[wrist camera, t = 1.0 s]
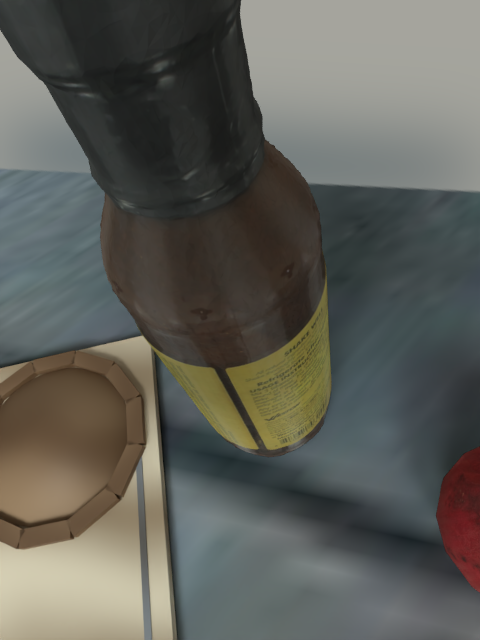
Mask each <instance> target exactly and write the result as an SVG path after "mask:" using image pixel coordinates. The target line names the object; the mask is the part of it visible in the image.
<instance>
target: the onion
mask: <svg viewBox="0 0 480 640" xmlns="http://www.w3.org/2000/svg"><path fill="white" fill-rule="evenodd" d="M436 518H437V521H438V525H439V529H440V532H441V536H442V540H443V543H444V547H445V551H446V552H447V554H448V555H449V556H450V558H451V559H452V560H453V562H454V563H455V564H456V566H457V567H458V568H459V570H460V571H461V573H462V574H463V575H464V577H465V578H466V579H467V581H468V582H469V583H470V585H471V586H472V587H473V588H474V589H476V590H477V591H478V592H480V447H478V448H475V449H473V450H471V451H469V452H467V453H464V454H463V455H462V457H461V458H460V459H459V460H458V461H457V463H456V464H455V465H454V466H453V467H452V469H451V470H450V471H449V472H448V473H447V474H446V476H445V477H444V479H443V482H442V485H441V491H440V496H439V502H438V508H437V513H436Z"/></svg>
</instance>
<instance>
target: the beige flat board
mask: <svg viewBox="0 0 480 640" xmlns="http://www.w3.org/2000/svg"><path fill="white" fill-rule="evenodd" d="M0 640H177V630H176V618H175V605H174V592H173V580H172V567H171V555H170V542H169V530H168V517H167V505H166V492H165V479H164V467H163V454H162V442H161V429H160V417H159V404H158V391H157V379H156V366H155V354H154V350H153V349H152V347H151V346H150V345H149V343H148V342H147V341H146V340H145V338H144V337H143V336H139V337H134V338H130V339H126V340H121V341H117V342H113V343H108V344H104V345H100V346H95V347H91V348H86V349H82V350H77V351H75V350H74V351H70V352H65V353H61V354H57V355H52V356H48V357H44V358H39V359H35V360H33V361H30V362H26V363H21V364H17V365H13V366H8V367H4V368H0Z"/></svg>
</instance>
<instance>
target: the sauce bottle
mask: <svg viewBox="0 0 480 640" xmlns="http://www.w3.org/2000/svg"><path fill="white" fill-rule="evenodd" d="M240 5H241V0H0V30H1V32H2V33H3V35H4V36H5V38H6V39H7V41H8V43H9V44H10V46H11V48H12V49H13V51H14V52H15V54H16V55H17V57H18V58H19V59H20V60H21V61H22V62H23V63H24V64H25V65H26V66H27V67H28V68H29V69H30V70H31V71H32V72H33V73H34V74H35V75H36V76H37V77H38V78H39V79H40V80H42V81H43V82H44V84H45V85H46V86H47V88H48V90H49V92H50V93H51V95H52V97H53V99H54V101H55V102H56V104H57V106H58V108H59V109H60V111H61V113H62V114H63V116H64V118H65V120H66V122H67V124H68V125H69V127H70V128H71V130H72V131H73V133H74V135H75V137H76V138H77V140H78V142H79V144H80V145H81V147H82V149H83V151H84V153H85V155H86V156H87V158H88V159H89V165H90V169H91V174H92V177H93V178H94V179H95V181H96V182H97V183H98V185H99V186H100V187H101V189H102V190H103V191H104V192H105V203H104V207H103V212H102V220H101V224H100V226H101V234H100V239H101V249H102V259H103V264H104V267H105V271H106V274H107V278H108V281H109V282H110V284H111V285H112V289H113V291H114V293H115V294H116V295H117V296H118V298H119V299H120V302H121V303H122V304H123V305H124V306H125V307H126V308H127V310H128V311H129V313H130V314H131V315H132V317H133V318H134V319H135V322H136V324H137V327H138V329H139V330H140V332H141V334H142V335H143V337H144V338H145V340H146V341H147V342H148V343H149V345H150V346H151V347H152V349H153V350H154V351H155V352H156V354H157V355H158V356H159V358H160V359H161V360H162V362H163V363H164V364H165V366H166V367H167V368H168V369H169V371H170V372H171V373H172V375H173V376H174V377H175V378H176V380H177V381H178V382H179V384H180V385H181V386H182V387H183V389H184V390H185V391H186V393H187V394H188V395H189V396H190V398H191V399H192V400H193V402H194V403H195V404H196V406H197V407H198V408H199V410H200V411H201V412H202V414H203V415H204V416H205V417H206V419H207V420H208V421H209V423H210V424H211V425H212V426H213V427H214V428H215V429H216V431H217V432H218V433H219V434H221V435H222V436H223V438H224V439H225V440H226V441H227V442H229V443H232V444H233V445H234V446H235V447H237V448H239V449H241V450H244V451H246V452H249V453H252V454H255V455H260V456H267V457H274V456H280V455H284V454H286V453H288V452H291V451H294V450H295V449H297V448H299V447H301V446H302V445H304V444H305V443H307V442H308V441H309V440H310V439H312V438H313V437H314V436H315V435H316V434H317V433H318V432H319V430H320V429H321V427H322V426H323V423H324V418H325V415H326V412H327V409H328V404H329V398H330V393H331V367H330V344H329V325H328V300H327V277H326V264H325V259H324V255H323V251H322V236H321V224H320V213H319V211H318V208H317V206H316V203H315V200H314V198H313V195H312V193H311V191H310V187H309V186H308V183H307V182H306V180H305V179H304V178H303V177H302V176H301V173H300V172H299V171H298V170H297V169H296V168H295V166H294V165H293V164H292V163H291V162H290V161H289V160H288V159H287V158H285V157H284V156H283V154H282V153H281V152H280V151H278V150H277V149H276V148H275V146H274V145H271V144H270V143H269V142H268V141H266V140H265V137H264V134H263V131H262V114H261V111H260V108H259V106H258V103H257V101H256V100H255V98H254V97H253V91H252V82H251V79H250V71H249V66H248V59H247V53H246V49H245V43H244V39H243V32H242V28H241V19H240Z"/></svg>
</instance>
